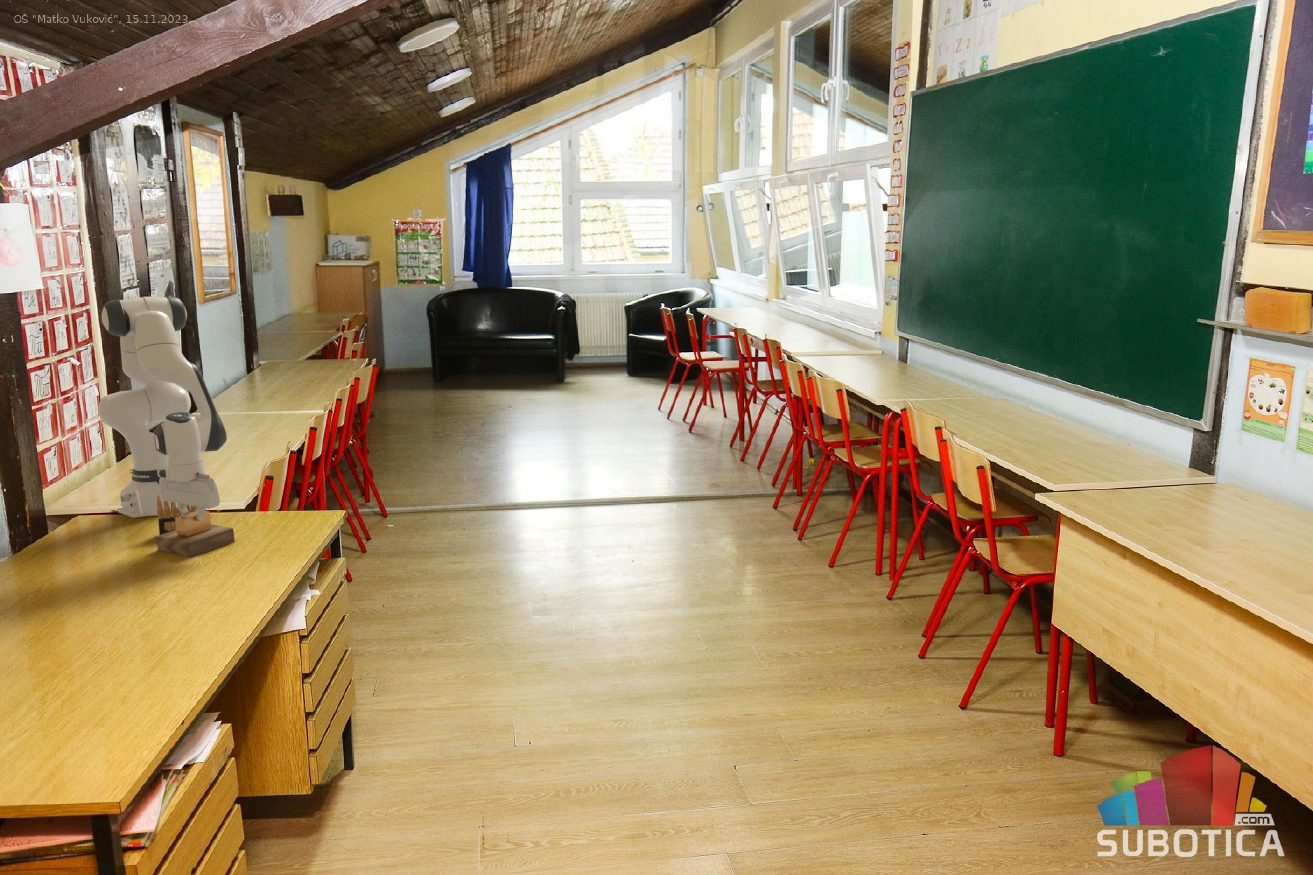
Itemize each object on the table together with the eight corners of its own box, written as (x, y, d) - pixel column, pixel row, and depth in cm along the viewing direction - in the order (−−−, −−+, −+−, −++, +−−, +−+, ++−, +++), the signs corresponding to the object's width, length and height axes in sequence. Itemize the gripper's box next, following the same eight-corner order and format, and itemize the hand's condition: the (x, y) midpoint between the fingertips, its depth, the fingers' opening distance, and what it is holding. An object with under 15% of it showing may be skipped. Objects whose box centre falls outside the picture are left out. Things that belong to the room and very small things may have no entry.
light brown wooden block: (177, 534, 267) (174, 517, 266) (202, 526, 274) (199, 509, 273) (186, 536, 265) (184, 519, 264) (211, 528, 272) (209, 511, 271)
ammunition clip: (200, 529, 285) (195, 490, 283) (199, 531, 283) (194, 492, 281) (160, 534, 282) (155, 494, 279) (159, 536, 280) (154, 496, 278)
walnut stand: (157, 549, 268) (155, 536, 267) (201, 535, 280) (199, 522, 279) (191, 557, 261) (189, 543, 261) (234, 541, 274) (233, 528, 273)
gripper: (222, 472, 264) (228, 520, 267) (173, 465, 273) (179, 511, 276) (202, 478, 259) (208, 527, 262) (152, 470, 268) (159, 518, 271)
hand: (193, 519), depth 269 cm, fingers open, 4 cm apart
